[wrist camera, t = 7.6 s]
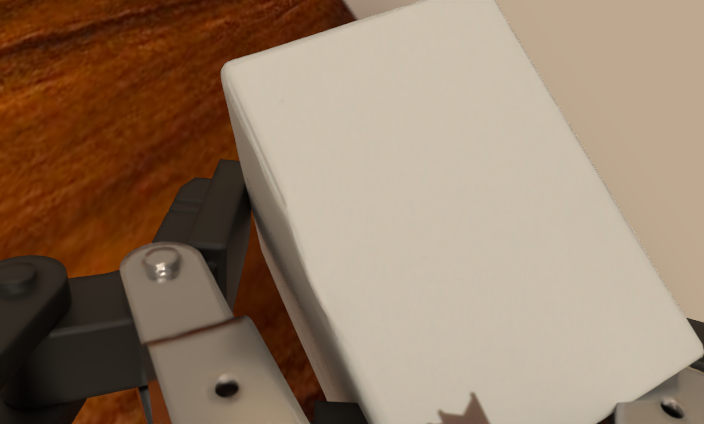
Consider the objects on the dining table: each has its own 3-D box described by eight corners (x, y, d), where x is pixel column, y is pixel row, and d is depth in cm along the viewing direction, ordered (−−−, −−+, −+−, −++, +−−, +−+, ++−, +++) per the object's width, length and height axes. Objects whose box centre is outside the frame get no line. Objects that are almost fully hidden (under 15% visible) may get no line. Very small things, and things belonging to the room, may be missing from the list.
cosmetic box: (438, 349, 18) (729, 369, 6) (328, 407, 17) (422, 559, 5) (364, 196, 19) (491, -37, 7) (256, 242, 18) (200, 61, 6)
